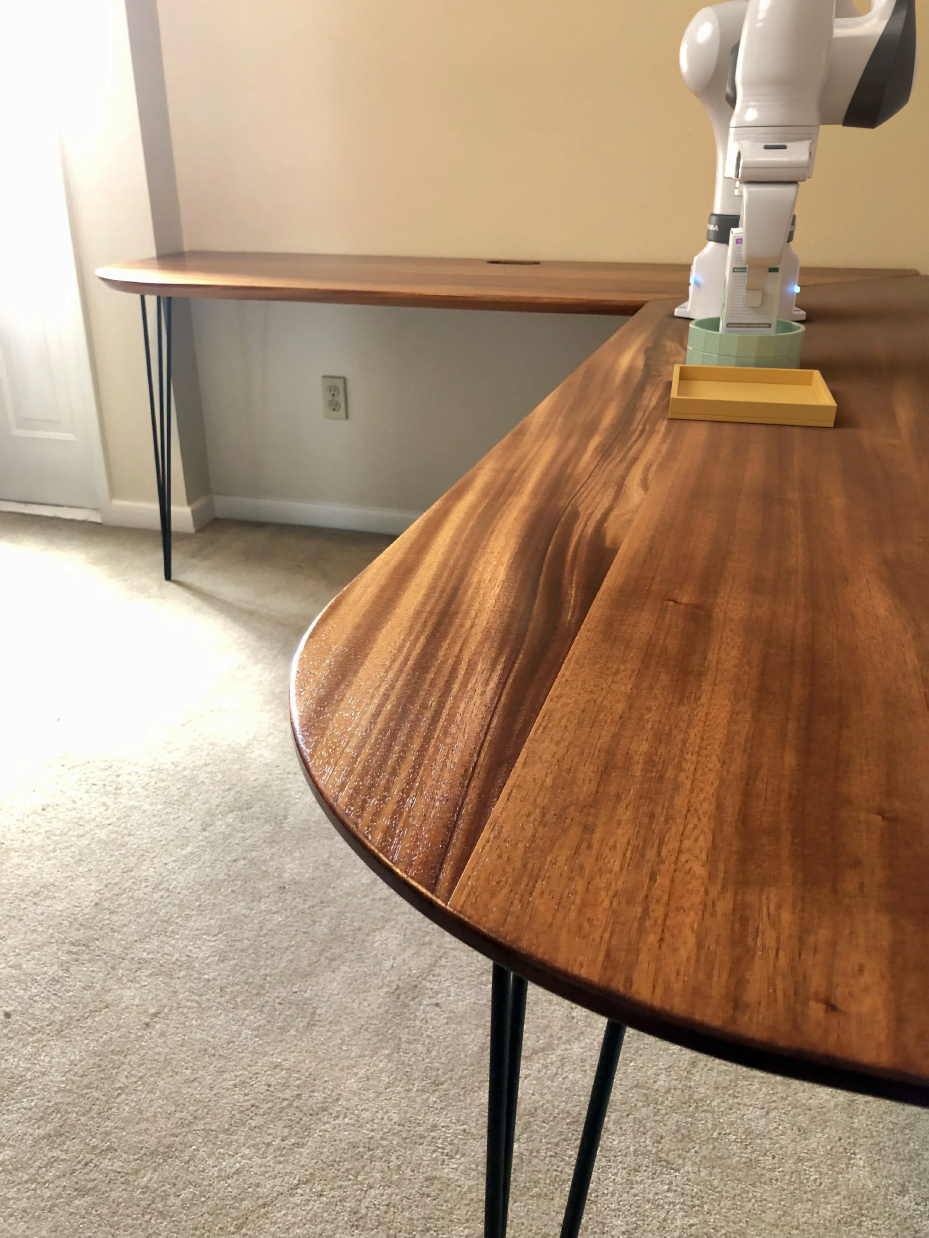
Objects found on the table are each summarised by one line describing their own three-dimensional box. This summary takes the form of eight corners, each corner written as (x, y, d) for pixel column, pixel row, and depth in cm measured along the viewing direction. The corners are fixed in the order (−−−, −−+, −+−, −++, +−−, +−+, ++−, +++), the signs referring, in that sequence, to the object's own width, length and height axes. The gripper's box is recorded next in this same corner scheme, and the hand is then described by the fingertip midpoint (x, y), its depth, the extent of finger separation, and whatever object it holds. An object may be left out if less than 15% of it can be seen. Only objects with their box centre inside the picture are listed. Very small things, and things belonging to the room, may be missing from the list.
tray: (672, 382, 96) (674, 364, 95) (815, 389, 93) (819, 370, 92) (668, 418, 83) (670, 397, 82) (833, 427, 80) (837, 405, 79)
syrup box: (770, 373, 98) (792, 230, 91) (715, 371, 99) (733, 230, 92) (765, 362, 103) (785, 226, 96) (713, 360, 104) (729, 226, 97)
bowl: (685, 357, 108) (690, 314, 105) (792, 361, 105) (799, 317, 103) (683, 380, 97) (689, 333, 95) (802, 385, 94) (810, 337, 92)
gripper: (734, 159, 101) (719, 287, 107) (741, 161, 83) (722, 315, 89) (792, 158, 99) (773, 288, 106) (812, 161, 82) (787, 317, 88)
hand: (750, 301), depth 97 cm, fingers closed on syrup box, 6 cm apart
